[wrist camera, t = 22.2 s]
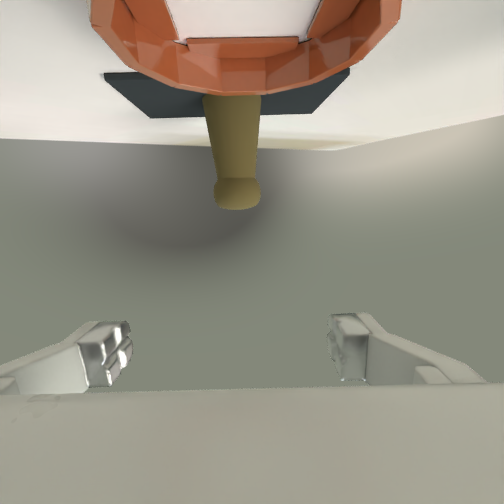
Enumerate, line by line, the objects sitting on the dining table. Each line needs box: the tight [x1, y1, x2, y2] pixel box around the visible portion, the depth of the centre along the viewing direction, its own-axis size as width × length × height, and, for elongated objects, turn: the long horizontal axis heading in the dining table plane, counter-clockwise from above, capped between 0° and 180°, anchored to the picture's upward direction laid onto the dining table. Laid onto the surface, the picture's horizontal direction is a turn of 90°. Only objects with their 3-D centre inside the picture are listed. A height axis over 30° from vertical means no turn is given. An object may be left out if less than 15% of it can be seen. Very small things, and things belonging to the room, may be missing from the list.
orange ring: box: [86, 0, 402, 96], centre depth 12 cm, size 14×14×2 cm
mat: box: [104, 68, 350, 118], centre depth 26 cm, size 20×11×1 cm, turn 87°
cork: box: [202, 94, 261, 210], centre depth 27 cm, size 6×6×11 cm
